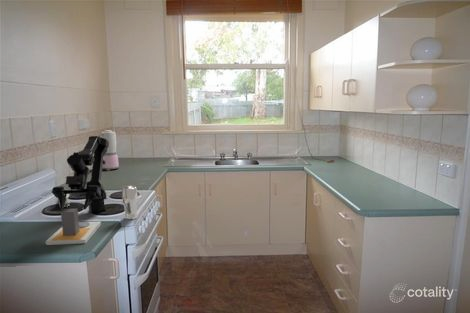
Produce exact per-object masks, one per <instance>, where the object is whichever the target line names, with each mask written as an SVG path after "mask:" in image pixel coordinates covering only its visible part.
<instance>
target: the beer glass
mask: <svg viewBox="0 0 470 313" xmlns="http://www.w3.org/2000/svg"><path fill="white" fill-rule="evenodd" d="M121 199H122V202H123V203H122V204H123V207H124V219H125V220H131V221H132V220H135V219H137V218H138V212H137V206H138V189H137V186H136V185H125V186H122V187H121Z"/></svg>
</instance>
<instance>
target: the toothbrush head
mask: <svg viewBox="0 0 470 313" xmlns="http://www.w3.org/2000/svg"><path fill="white" fill-rule="evenodd" d="M70 196H71V194H67V196H66V202H65V205H64V207H66V208H69V207H70V204H71V201H70V200H69V197H70ZM58 205H60V202H59V201H58ZM68 206H69V207H68Z"/></svg>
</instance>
